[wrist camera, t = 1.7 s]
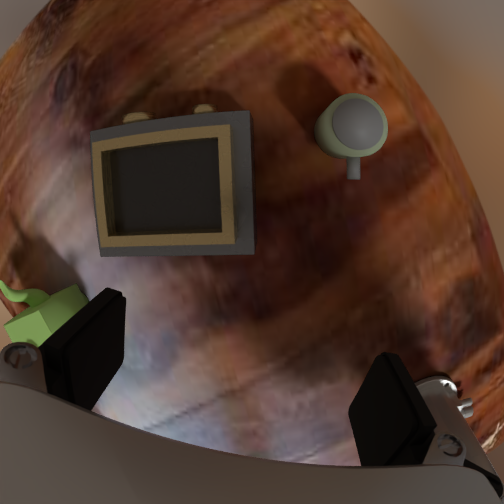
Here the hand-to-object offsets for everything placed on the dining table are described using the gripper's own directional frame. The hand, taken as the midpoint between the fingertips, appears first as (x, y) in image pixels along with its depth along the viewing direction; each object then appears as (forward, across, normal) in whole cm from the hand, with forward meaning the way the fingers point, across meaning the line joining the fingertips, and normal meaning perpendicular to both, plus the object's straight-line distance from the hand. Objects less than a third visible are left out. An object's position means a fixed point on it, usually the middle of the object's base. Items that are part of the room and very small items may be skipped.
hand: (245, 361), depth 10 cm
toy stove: (+24, +10, -2) cm, 26 cm away
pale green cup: (+24, -6, -12) cm, 27 cm away
